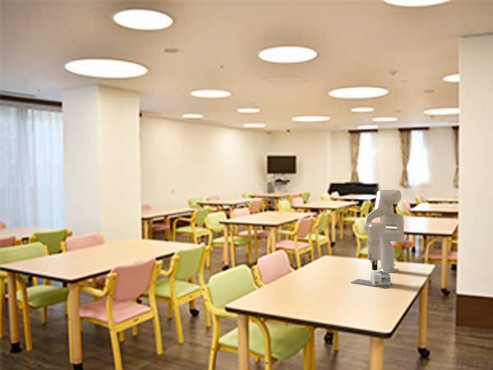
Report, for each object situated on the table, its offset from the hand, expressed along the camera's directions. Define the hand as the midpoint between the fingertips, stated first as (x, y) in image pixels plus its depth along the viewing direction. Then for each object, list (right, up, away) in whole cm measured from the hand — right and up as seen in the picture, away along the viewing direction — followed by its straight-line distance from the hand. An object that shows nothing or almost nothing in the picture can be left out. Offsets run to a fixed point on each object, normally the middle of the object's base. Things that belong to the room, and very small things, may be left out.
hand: (374, 270), depth 279 cm
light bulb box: (+2, -4, 0) cm, 5 cm away
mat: (-4, -8, -4) cm, 10 cm away
